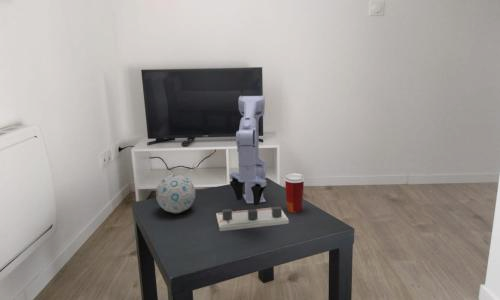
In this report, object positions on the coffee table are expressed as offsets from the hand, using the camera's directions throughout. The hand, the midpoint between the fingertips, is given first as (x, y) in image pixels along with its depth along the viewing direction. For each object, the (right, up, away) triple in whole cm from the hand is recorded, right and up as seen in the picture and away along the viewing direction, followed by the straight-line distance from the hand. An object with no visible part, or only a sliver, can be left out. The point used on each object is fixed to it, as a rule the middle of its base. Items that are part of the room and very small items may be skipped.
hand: (248, 201), depth 130 cm
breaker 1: (-8, -7, +7) cm, 13 cm away
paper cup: (+18, -6, +17) cm, 26 cm away
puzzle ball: (-28, -6, +19) cm, 34 cm away
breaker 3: (+10, -6, +8) cm, 15 cm away
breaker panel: (+1, -8, +9) cm, 12 cm away
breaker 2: (+2, -7, +7) cm, 10 cm away
